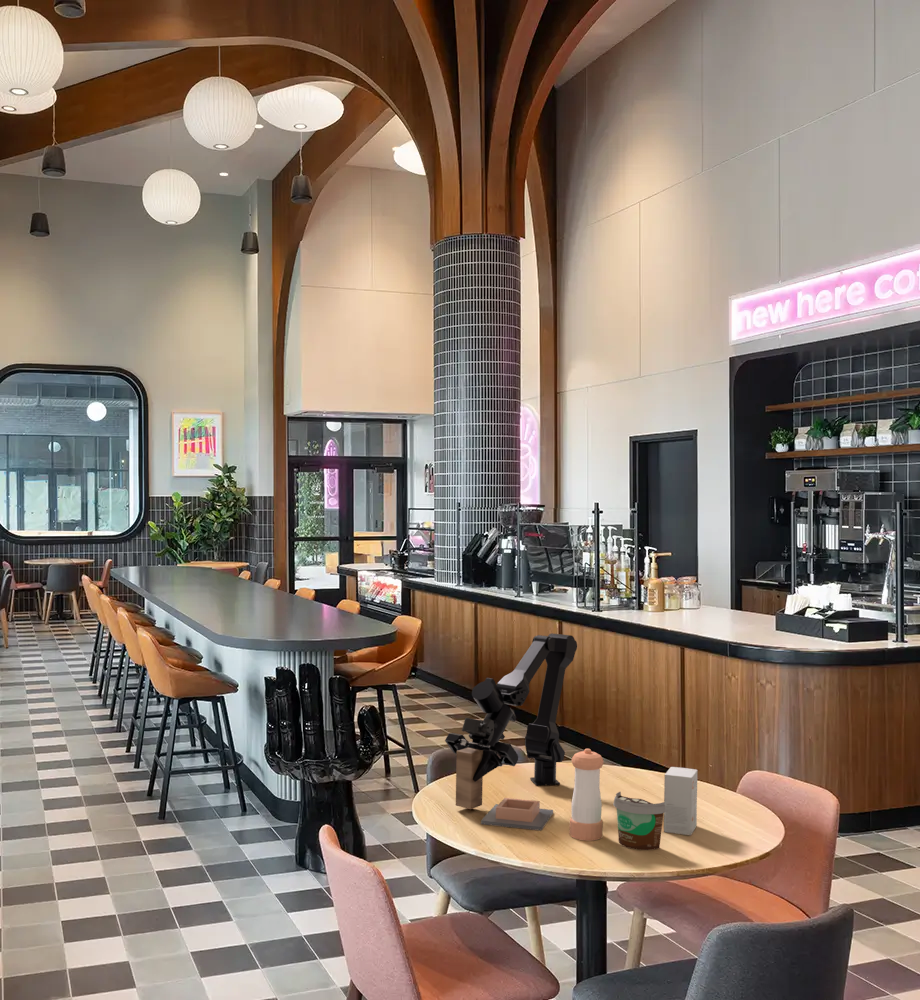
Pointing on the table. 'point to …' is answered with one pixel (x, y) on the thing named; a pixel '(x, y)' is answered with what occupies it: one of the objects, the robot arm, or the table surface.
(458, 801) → the walnut block
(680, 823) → the small box
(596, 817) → the salt shaker
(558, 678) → the robot arm
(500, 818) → the jaw socket
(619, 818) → the food container
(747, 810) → the table surface
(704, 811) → the table surface
